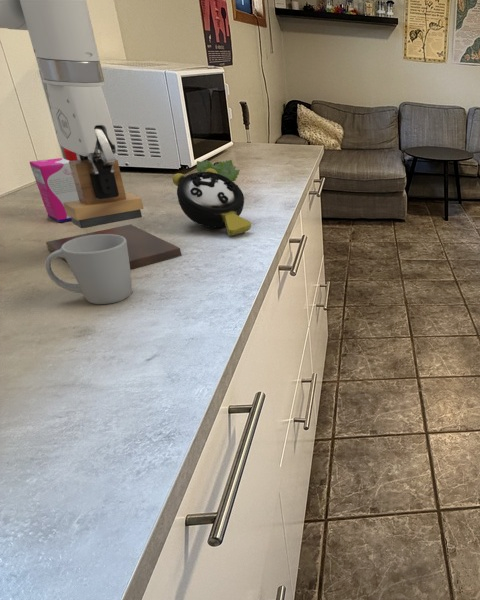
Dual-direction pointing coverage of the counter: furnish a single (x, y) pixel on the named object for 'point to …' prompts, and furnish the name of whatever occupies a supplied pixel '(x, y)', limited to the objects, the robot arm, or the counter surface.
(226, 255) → the counter surface
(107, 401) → the counter surface
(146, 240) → the cutting board
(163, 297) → the counter surface
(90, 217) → the brush
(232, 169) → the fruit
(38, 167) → the supplement box
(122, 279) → the cup
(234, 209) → the alarm clock
